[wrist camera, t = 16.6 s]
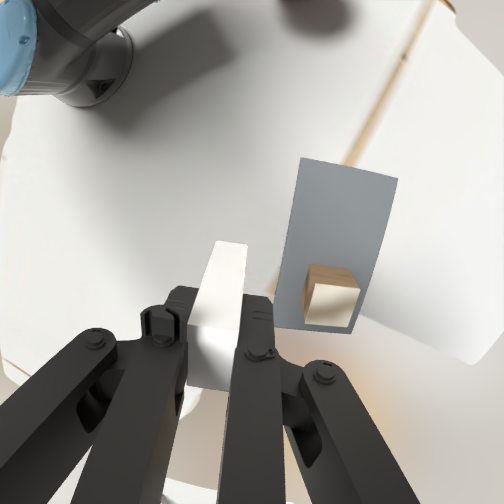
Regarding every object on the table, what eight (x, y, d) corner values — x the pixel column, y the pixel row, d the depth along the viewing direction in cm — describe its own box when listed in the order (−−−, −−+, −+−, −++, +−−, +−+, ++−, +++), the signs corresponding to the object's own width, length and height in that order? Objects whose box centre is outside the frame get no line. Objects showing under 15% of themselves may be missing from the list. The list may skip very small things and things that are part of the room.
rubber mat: (300, 157, 44) (300, 157, 43) (397, 178, 44) (398, 178, 44) (268, 325, 56) (268, 326, 55) (350, 333, 56) (350, 334, 56)
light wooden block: (305, 323, 47) (300, 299, 53) (347, 327, 47) (338, 303, 53) (316, 284, 44) (309, 263, 50) (360, 289, 44) (349, 268, 50)
